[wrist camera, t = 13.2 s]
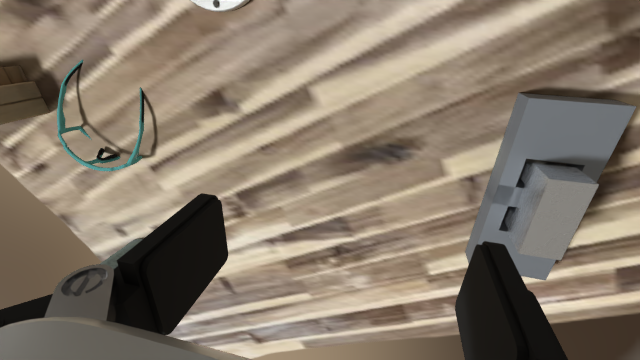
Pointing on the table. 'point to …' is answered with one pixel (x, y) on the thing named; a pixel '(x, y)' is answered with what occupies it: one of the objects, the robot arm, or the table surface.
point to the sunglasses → (110, 158)
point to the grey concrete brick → (548, 208)
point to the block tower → (19, 96)
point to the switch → (546, 159)
